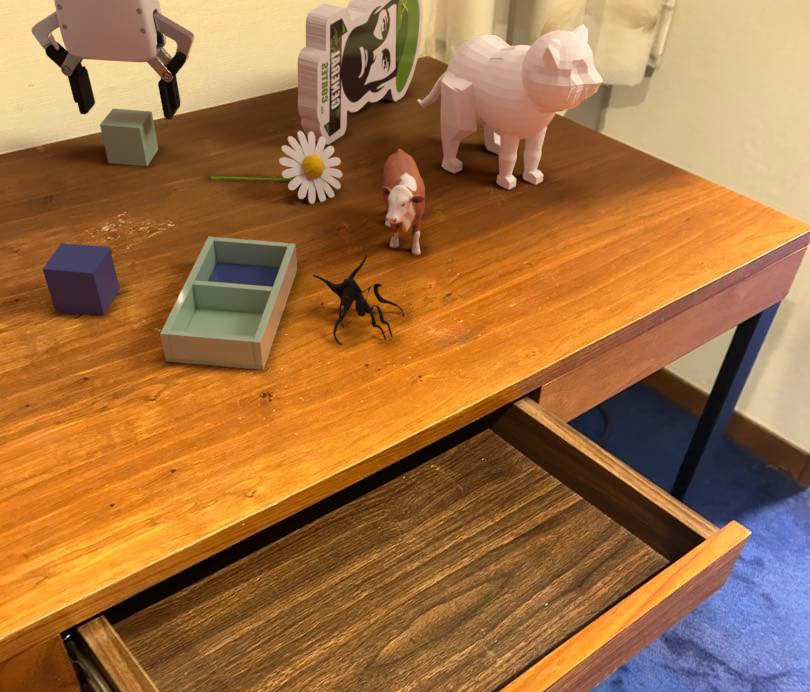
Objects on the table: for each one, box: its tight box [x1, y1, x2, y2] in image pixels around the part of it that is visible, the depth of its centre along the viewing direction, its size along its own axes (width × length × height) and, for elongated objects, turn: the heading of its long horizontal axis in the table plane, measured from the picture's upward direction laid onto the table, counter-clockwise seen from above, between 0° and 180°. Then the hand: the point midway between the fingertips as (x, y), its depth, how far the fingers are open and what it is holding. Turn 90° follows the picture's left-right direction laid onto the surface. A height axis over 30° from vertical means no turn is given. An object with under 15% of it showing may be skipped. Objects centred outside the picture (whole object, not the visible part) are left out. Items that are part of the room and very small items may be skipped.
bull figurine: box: [381, 148, 426, 256], centre depth 87 cm, size 4×13×8 cm, turn 0°
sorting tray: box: [159, 236, 298, 371], centre depth 79 cm, size 9×16×3 cm, turn 175°
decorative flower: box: [210, 130, 343, 205], centre depth 95 cm, size 8×6×15 cm
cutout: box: [296, 0, 424, 146], centre depth 106 cm, size 15×3×25 cm
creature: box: [312, 253, 405, 346], centre depth 77 cm, size 8×5×8 cm
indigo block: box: [42, 242, 121, 317], centre depth 78 cm, size 5×5×5 cm
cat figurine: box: [416, 23, 609, 191], centre depth 95 cm, size 25×10×17 cm, turn 47°
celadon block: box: [99, 108, 159, 167], centre depth 99 cm, size 5×5×5 cm
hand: (129, 111), depth 97 cm, fingers open, 9 cm apart
